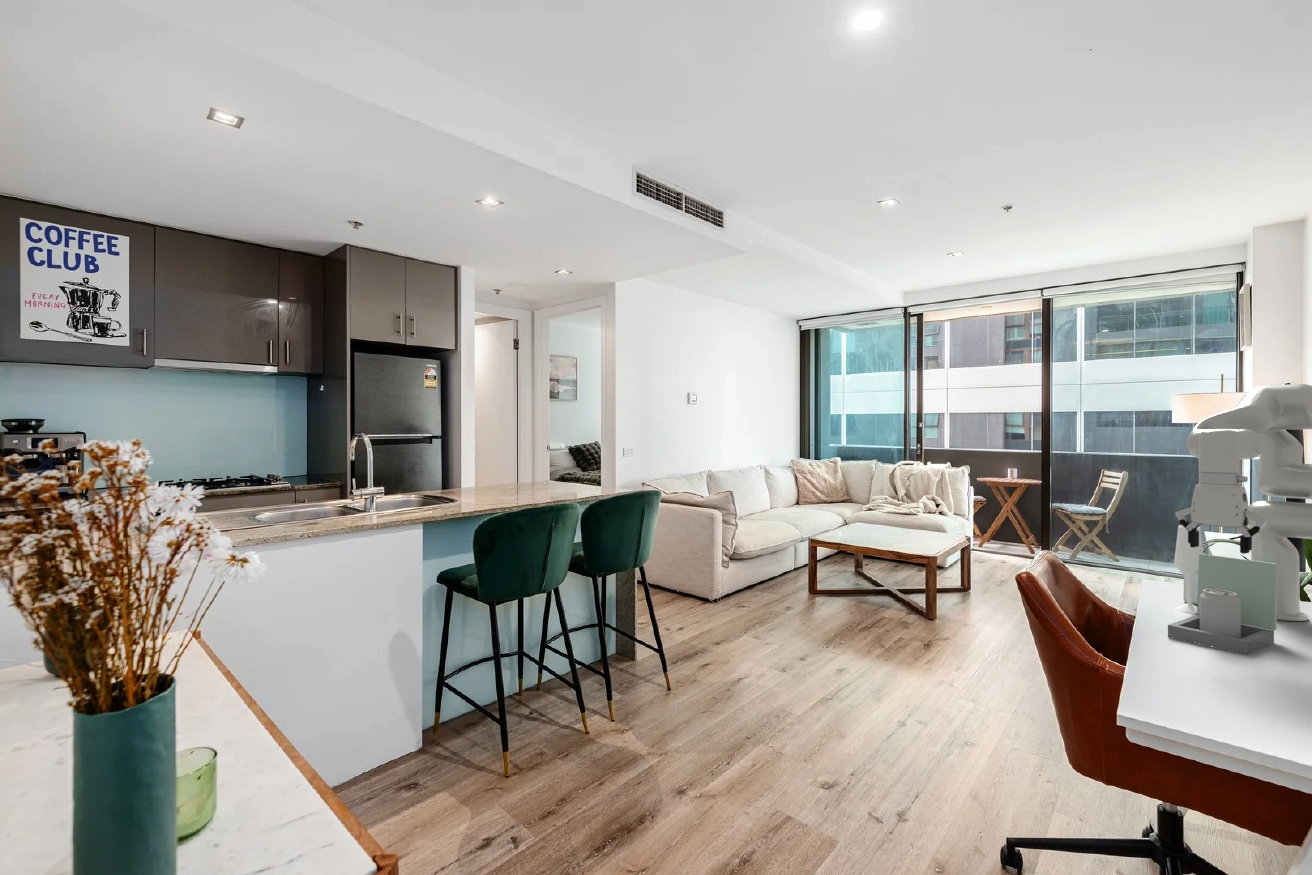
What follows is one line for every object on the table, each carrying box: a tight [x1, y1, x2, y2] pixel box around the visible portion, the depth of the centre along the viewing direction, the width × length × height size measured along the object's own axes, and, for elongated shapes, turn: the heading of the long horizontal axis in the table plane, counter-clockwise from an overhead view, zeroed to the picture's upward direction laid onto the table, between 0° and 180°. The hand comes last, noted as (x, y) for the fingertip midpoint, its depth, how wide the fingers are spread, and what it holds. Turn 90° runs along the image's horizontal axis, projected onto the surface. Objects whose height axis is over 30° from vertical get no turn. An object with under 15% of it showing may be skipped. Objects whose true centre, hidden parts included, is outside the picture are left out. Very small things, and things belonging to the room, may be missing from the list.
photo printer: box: [1183, 574, 1198, 605], centre depth 183 cm, size 10×4×12 cm, turn 17°
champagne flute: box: [1173, 524, 1204, 614], centre depth 178 cm, size 7×7×24 cm
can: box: [1200, 589, 1242, 639], centre depth 153 cm, size 8×8×12 cm
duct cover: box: [1196, 553, 1278, 631], centre depth 158 cm, size 16×15×1 cm
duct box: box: [1167, 614, 1275, 656], centre depth 153 cm, size 16×15×3 cm
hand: (1218, 549), depth 153 cm, fingers open, 9 cm apart
